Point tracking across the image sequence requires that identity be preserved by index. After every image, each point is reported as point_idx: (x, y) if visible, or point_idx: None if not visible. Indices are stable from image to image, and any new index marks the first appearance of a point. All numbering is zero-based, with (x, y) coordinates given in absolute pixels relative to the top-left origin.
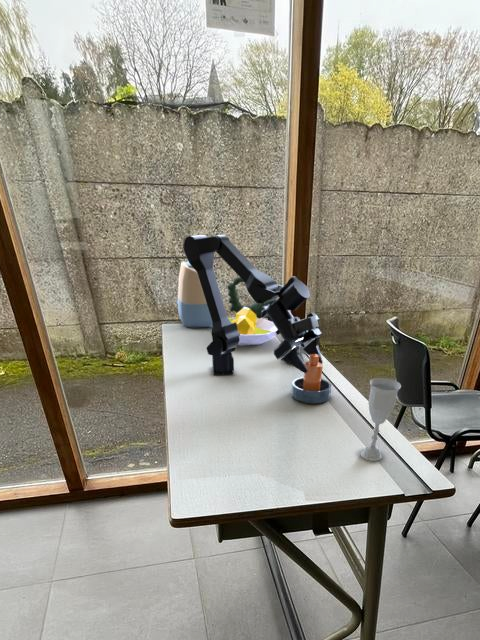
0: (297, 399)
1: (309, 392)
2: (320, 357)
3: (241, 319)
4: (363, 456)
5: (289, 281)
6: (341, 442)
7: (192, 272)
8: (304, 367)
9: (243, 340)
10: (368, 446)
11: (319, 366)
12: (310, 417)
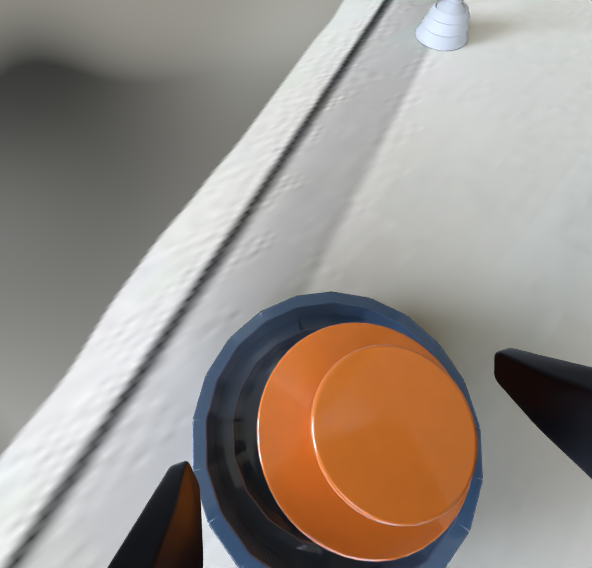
0: None
1: (427, 336)
2: (157, 520)
3: None
4: (467, 35)
5: None
6: (473, 97)
7: None
8: (564, 364)
9: None
10: (462, 9)
11: (354, 329)
12: (472, 251)
